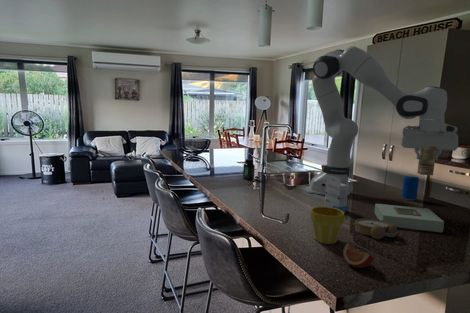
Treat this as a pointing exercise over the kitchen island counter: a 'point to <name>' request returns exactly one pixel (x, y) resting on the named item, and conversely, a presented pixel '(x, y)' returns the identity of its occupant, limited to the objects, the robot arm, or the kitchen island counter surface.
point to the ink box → (336, 194)
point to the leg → (427, 160)
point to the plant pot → (326, 223)
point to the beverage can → (410, 187)
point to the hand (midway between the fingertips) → (426, 159)
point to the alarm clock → (375, 228)
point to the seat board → (409, 217)
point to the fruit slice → (356, 256)
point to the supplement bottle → (248, 170)
